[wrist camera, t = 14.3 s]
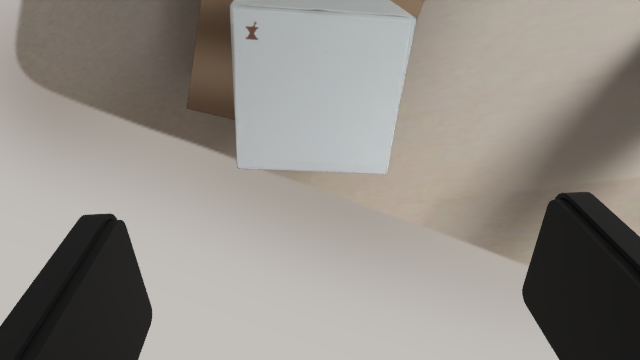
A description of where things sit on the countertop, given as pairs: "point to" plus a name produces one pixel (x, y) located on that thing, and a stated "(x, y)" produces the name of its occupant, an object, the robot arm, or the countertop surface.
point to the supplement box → (318, 83)
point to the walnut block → (226, 58)
